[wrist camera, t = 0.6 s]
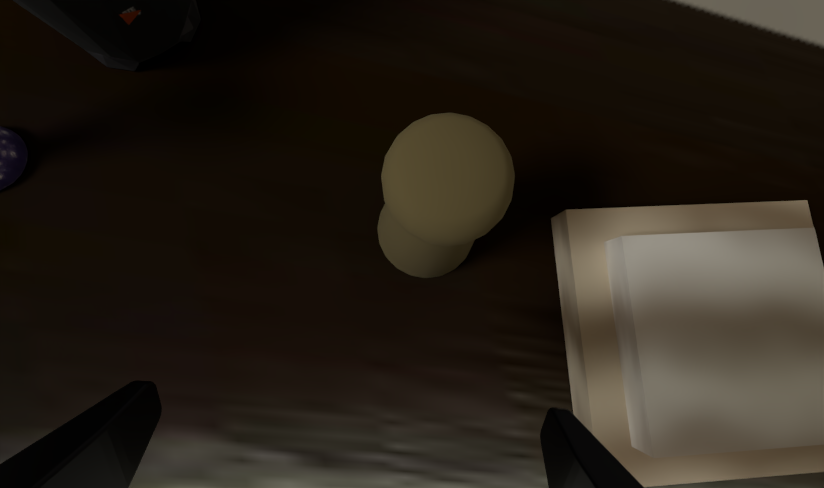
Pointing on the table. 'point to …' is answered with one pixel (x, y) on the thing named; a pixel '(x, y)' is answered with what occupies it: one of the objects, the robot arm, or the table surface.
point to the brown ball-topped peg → (442, 192)
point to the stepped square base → (696, 337)
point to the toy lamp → (11, 157)
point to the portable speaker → (120, 26)
